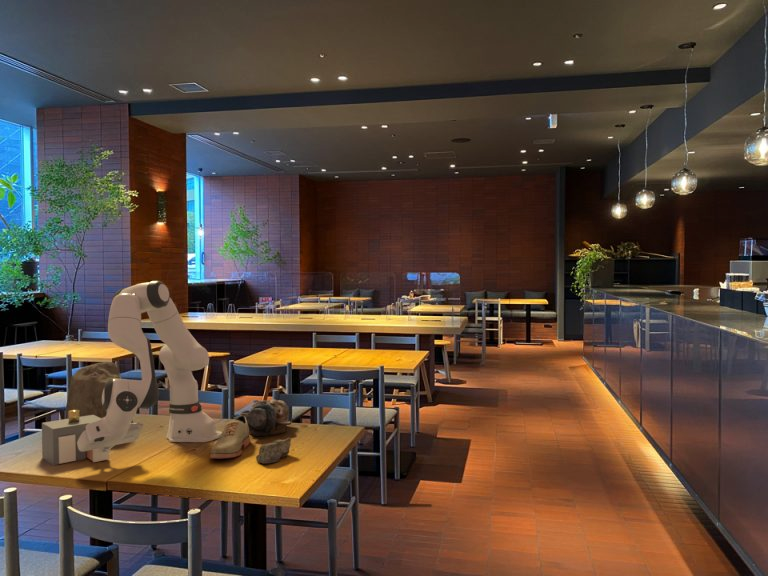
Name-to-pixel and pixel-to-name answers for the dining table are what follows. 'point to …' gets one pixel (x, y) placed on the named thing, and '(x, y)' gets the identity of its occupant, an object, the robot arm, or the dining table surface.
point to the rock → (273, 451)
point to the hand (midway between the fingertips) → (104, 449)
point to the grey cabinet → (60, 429)
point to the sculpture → (267, 418)
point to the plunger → (97, 455)
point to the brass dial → (73, 416)
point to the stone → (90, 389)
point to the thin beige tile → (66, 448)
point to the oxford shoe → (232, 439)
